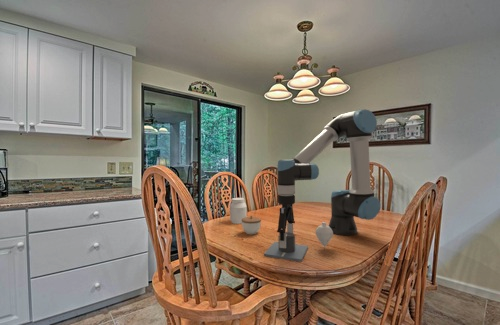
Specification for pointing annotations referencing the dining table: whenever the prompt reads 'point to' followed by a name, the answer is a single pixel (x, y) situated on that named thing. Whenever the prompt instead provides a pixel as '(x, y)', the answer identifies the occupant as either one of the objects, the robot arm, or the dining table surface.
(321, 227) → the spinning top
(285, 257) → the shaft plate
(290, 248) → the knob
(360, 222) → the dining table surface
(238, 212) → the jar
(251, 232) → the lidded jar
